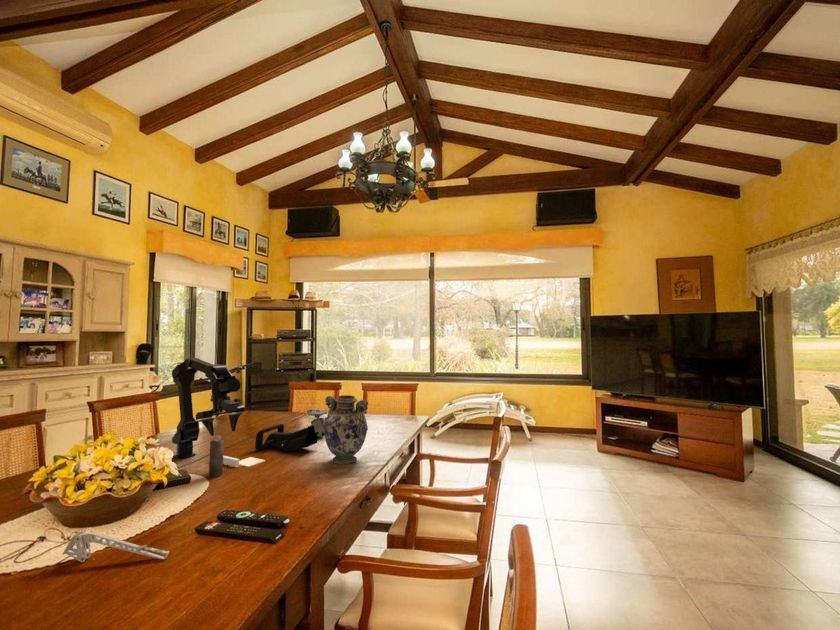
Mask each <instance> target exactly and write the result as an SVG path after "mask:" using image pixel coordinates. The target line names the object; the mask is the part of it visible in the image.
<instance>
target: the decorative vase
mask: <svg viewBox="0 0 840 630" xmlns="http://www.w3.org/2000/svg"><path fill="white" fill-rule="evenodd" d="M324 400H325V406H327V407H328V410H327V414H326V415H327V416H326V417H327V418H326V420H325V423H324V435H323V436H324V440H325V443H326V446H327V448H328V449H329V452H330V453H331V454H333V455H334V457H333V458H332V460H331V462H332V463H333V462H334V463H333V464H335V463H337V464H336V465H350V464H349V463H352V464H354V463H356V462H357V461H358V458H357V457H356V456H355V455H356V454H358V453H359V452H360V450H361V449H362V447H363V445H364V443H365V440H366V438H367V433H368V430H369V428H368V427H369V426H368V423H367V419H366V414H365V412H364V411H365V410H368V409H369V408H368V405H369V402H368V401H367V400H366V399H361V400H359V401H358V399H357V398H356V396H354V395H350V394H348V395H346V394H345V395H343V394H342V395H338V396H337V397H336V398H335V397H333V396H331V395H329V396H326V397H325V399H324ZM355 403H356V404H355ZM355 461H356V462H355ZM353 462H354V463H353Z"/></svg>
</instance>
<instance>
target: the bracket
mask: <svg viewBox="0 0 840 630" xmlns="http://www.w3.org/2000/svg"><path fill="white" fill-rule="evenodd" d="M104 540H105V541H104ZM91 543H92V544H93V543H95V544H99V545H103V546H107V547H111V548H115V549H118V550H122V551H127V552H129V553H134V554H138V555H142V556H147V557H150V558H153V559H158V560H166V559H167V557H168V556H169V554H170V550H164V549H160V548H154V547H151V546H150V547H149V546H148V545H147V544H144V545H139V544H135V543H133V542H128V541H126V540H121V539H118V538H115V537H111V536H108V535H104V534H101V533H98V532H95V531H91V532H85V531H83V530H80V531H79V532H77V533H76V534H74V535H73V536H72V537H71V538H70V540H69V542H68V543H67V545H66V547H65V548H64V551H63V552H62V555H67V556H69V557H72V558H73V559H75V560H76V561H78V562H80V563H84V562H85V560H87V559H89V558H90V556H91V555H92V551H91V548H90V544H91ZM75 545H76V546H75ZM74 547H76V548H74ZM143 549H144V550H143ZM149 551H150V552H149ZM154 552H155V553H154ZM156 553H159V554H156ZM160 554H163V556H162V555H160ZM82 558H83V559H82Z"/></svg>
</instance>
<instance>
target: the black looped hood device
mask: <svg viewBox="0 0 840 630" xmlns="http://www.w3.org/2000/svg"><path fill="white" fill-rule="evenodd" d="M309 426H310V425H309ZM273 430H277V431H276V432H272V431H273ZM270 431H271V432H272V433H270V434H269V435H268V436H267V437H266V439H265V440H264V434H265V433H268V432H270ZM263 440H264V441H265V442H264V441H263ZM318 440H319V439H318V437H317V433H316V432H315V429H314V426H310V427H308V426H306V427H305V428H301V429H299V430H296V431H294V432H293V431H292V432H291V431H290V432H288V431H287V432H285V424H284V423H278V424H276V425H273V426H269V427H266V428H263V429H260V430H258V432H256V435H255V443H254V448H255V449H254V450H256V451H259V449H260V450H262V449H265V448H267V447H269V446H274V447H275V448H278V449H280V450H282V451H285V453H287V452H291V451H296V450H301V449H306V448H309V447H311V446H313V445H315V444H317V443H318ZM263 442H264V443H263Z"/></svg>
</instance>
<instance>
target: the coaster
mask: <svg viewBox="0 0 840 630" xmlns="http://www.w3.org/2000/svg"><path fill="white" fill-rule="evenodd" d="M264 462H266V460H265V459H261V458H257V457H252V456H249V457H246V458H243V459H241V460H240V459H239V466H241V467H246V468H250V467H253V466H256V465H259V464H262V463H264Z"/></svg>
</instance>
